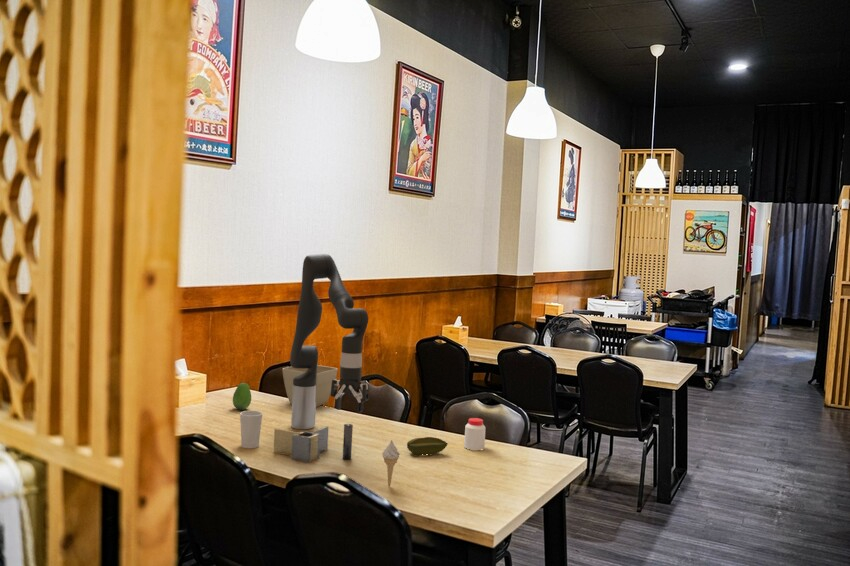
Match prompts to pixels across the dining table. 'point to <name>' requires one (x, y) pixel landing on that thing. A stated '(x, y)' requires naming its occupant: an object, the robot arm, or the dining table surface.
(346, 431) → the hinge pin
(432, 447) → the fruit
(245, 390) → the fruit
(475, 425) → the pill bottle
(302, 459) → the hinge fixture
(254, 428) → the cup
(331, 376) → the flower pot
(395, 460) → the ice cream cone
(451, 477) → the dining table surface
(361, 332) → the robot arm
